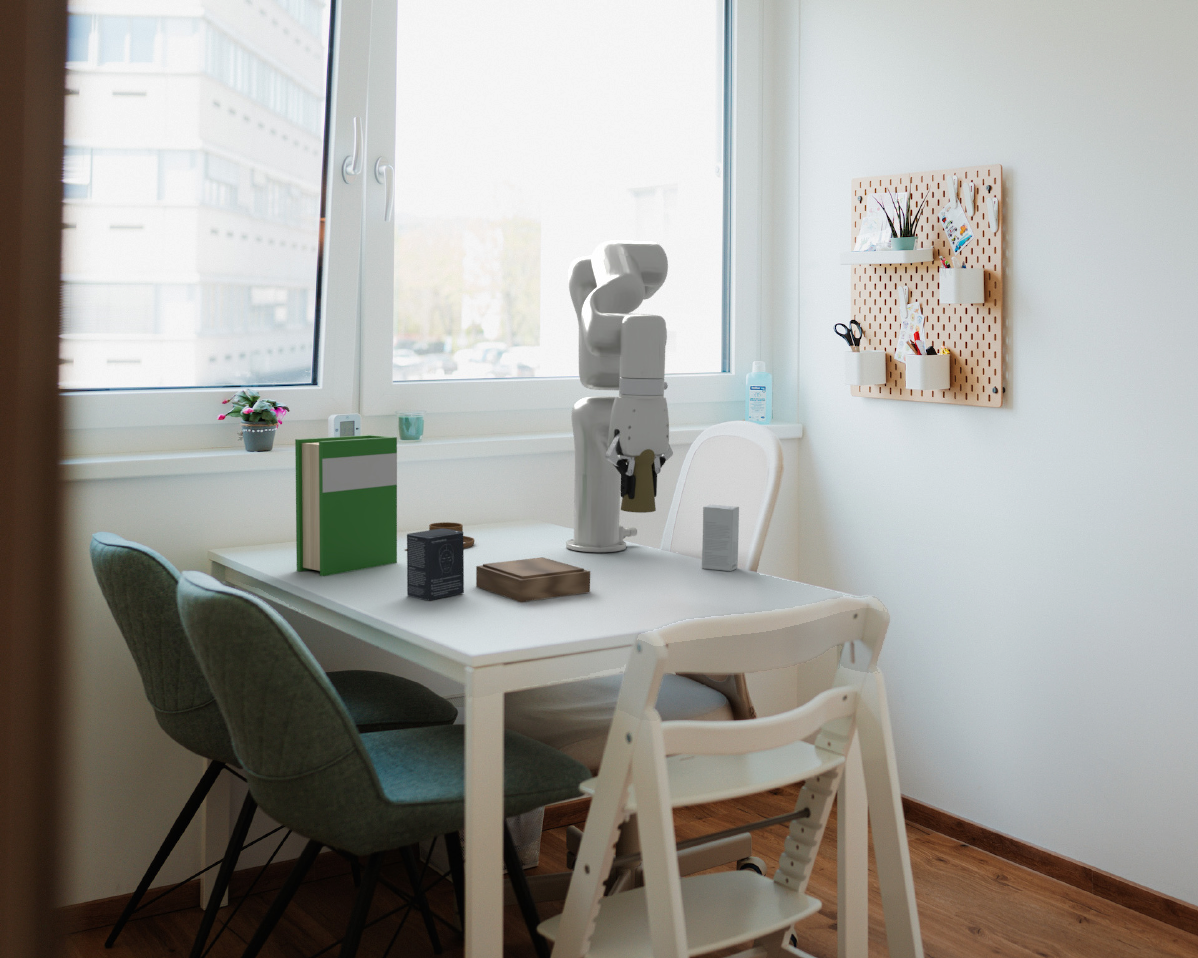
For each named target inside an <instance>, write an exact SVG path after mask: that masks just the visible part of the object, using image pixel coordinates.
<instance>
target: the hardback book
mask: <svg viewBox="0 0 1198 958" xmlns="http://www.w3.org/2000/svg"><path fill="white" fill-rule="evenodd" d="M294 444H295V448H294V449H295V453H294V454H295V527H296V528H295V529H296V530H295V533H296V534H295V535H296V538H295V539H296V541H295V542H296V543H295V544H296V545H295V546H296V547H295V548H296V572H304V571H309V570H314V571H318V572H319V576H320V577H327V576H332V575H337V574H338V575H339V574H343V573H347V572H348V573H349V572H353V571H361V570H363V569H365V570H366V569H370V568H375V567H381V566H386V565H391V564H397V562H398V437H396V436H387V435H385V436H384V435H377V434H376V435H374V434H373V435H372V434H366V435H364V434H363V435H350V436H349V435H348V436H346V435H345V436H330V437H316V438H315V437H313V438H297V439H295V440H294Z"/></svg>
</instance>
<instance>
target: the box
mask: <svg viewBox="0 0 1198 958" xmlns="http://www.w3.org/2000/svg"><path fill="white" fill-rule="evenodd" d="M463 536H464V530H463V531H456V530H450V529H443V528H442V529H435V530H429V529H428V530H423V531H416V532H412V533H407V534H406V549H407V551H406V567H407V568H406V575H407V577H406V581H407V582H406V587H407V588H406V590H407V594H406V595H407V596H408V597H411V598H415V599H420V600H424V601H433V600H434V601H435V600H438V599H442V598H447V597H451V596H455V595H460V594H464V593H465V587H464V586H465V580H464V577H465V576H464V575H465V572H464V571H465V570H464V567H465V566H464V563H465V561H464V559H465V558H464V556H465V555H464V549H465V548H464V547H463V543H464V542H463ZM463 548H464V549H463Z"/></svg>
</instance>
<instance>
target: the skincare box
mask: <svg viewBox="0 0 1198 958" xmlns="http://www.w3.org/2000/svg"><path fill="white" fill-rule="evenodd" d="M702 515H703V516H702V517H703V518H702V548H701V550H702V551H701V552H702V553H701V555H702V557H701V568H702V569H703V570H713V571H714V570H715V571H723V572H725V571H726V572H732V571H734V570H736V569H738V568H739V566H738V565H739V559H738V558H739V525H740V518H739V517H740V507H739V506H733V505H732V506H731V505H717V504H709V505H707V506H706V505H704V506H703V507H702Z"/></svg>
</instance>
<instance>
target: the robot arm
mask: <svg viewBox="0 0 1198 958" xmlns="http://www.w3.org/2000/svg"><path fill="white" fill-rule="evenodd" d="M668 261H669V260H668V257H667V254H666V251H665V249H664V248H663V246H662V245H660V244H658V243H657V242H653V241H643V240H642V241H639V240H638V241H637V240H635V241H634V240H609V241H605V242H603V243H601V244H599V245H598V246H597V247H596V248H595V250H594V251H593V253H592V255H588V256H582V257H581V256H580V257H578V258H576V259H574V260H573V261H572V262H571V263H570V266H569V267H568V268H569V269H568V273H567V274H568V277H567V279H568V288H569V289H568V290H569V294H570V295H569V296H570V299H571V302H572V305H573V307H574V311H575V314H576V318H577V323H578V376H579V381H580V383H581V385H582V386H583V387H584V388H586V389H589V390H595V391H596V390H597V391H618V396H589V397H583V398H581V399H579V400H577V401H576V402H575V403H574V405H573V407H572V409H571V427H572V434H573V442H574V501H573V503H574V504H573V507H574V508H573V509H574V510H573V538H572V539H569V540H567V541H565V542H566V544H565V545H566V548H567V549H568V550H571V551H577V552H583V553H584V552H585V553H614V552H621V551H624V550H625V549H627V542H625V541H624V539H626V537H636V536H637V535H638V529H637V527H635V526H633V527H624V526H623V525H620V514H621V513H620V511H621V505H620V504H621V498H622V497H623V498H624V496H625V495H626V494H628V498H629V499H634V497H635V485H636V477H635V476H634V475H632V474H633V470H634V464H635V457H637V456H639V455H640V454H641V453H642V452H643V451H644V450H646V449H650V450H652V451H653V452H654V454H655V460H654V462H653V464H652V465H651V466H652V476H653V487H654V497H655V498H656V497H657V492H658V491H657V489H658V474H660V473H661V469H662V467H663V466H664V465H665V464H666V461H668V460H669V459H670V458H672V456H673V455H674V452H673V449H672V448H671V445H670V421H669V410H668V409H669V408H668V403H667V398H666V397H665V395H664V394H665V390H668V386H669V384H668V382H667V381H665V377H666V376H665V375H666V374H665V373H666V372H665V368H666V346H667V340H668V332H667V331H668V329H667V323H666V320H665V318H664V317H663V316H661V315H658V314H649V313H648V314H647V313H645V314H644V313H633V312H634V311H636V310H637V309H638V308H639V307H640V306H641V305H642V304H643V301H644V300H648V299H649V300H650V299H651V297H653V296H654V295H655V294H656V293H657V292H658V291H659V290H660V289H661V287H662V286H663V285H664V283H665V282H666V280H667V275H668V270H669V262H668ZM626 459H627V460H628V461H627V463H626Z"/></svg>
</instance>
